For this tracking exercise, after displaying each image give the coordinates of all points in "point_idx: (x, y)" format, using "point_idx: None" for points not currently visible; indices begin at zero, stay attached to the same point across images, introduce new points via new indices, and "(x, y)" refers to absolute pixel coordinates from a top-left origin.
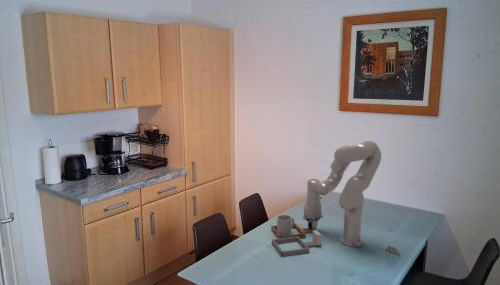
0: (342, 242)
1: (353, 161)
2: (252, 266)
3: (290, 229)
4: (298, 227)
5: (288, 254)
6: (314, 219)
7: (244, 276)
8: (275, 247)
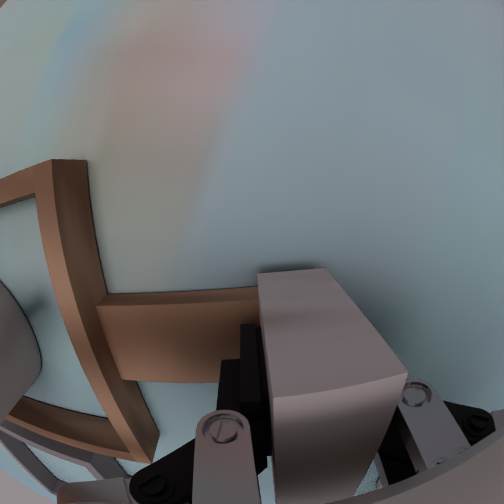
0: (377, 486)
1: None
2: (7, 462)
3: (8, 412)
4: (73, 329)
5: None
6: (396, 415)
7: (12, 474)
8: (14, 439)
